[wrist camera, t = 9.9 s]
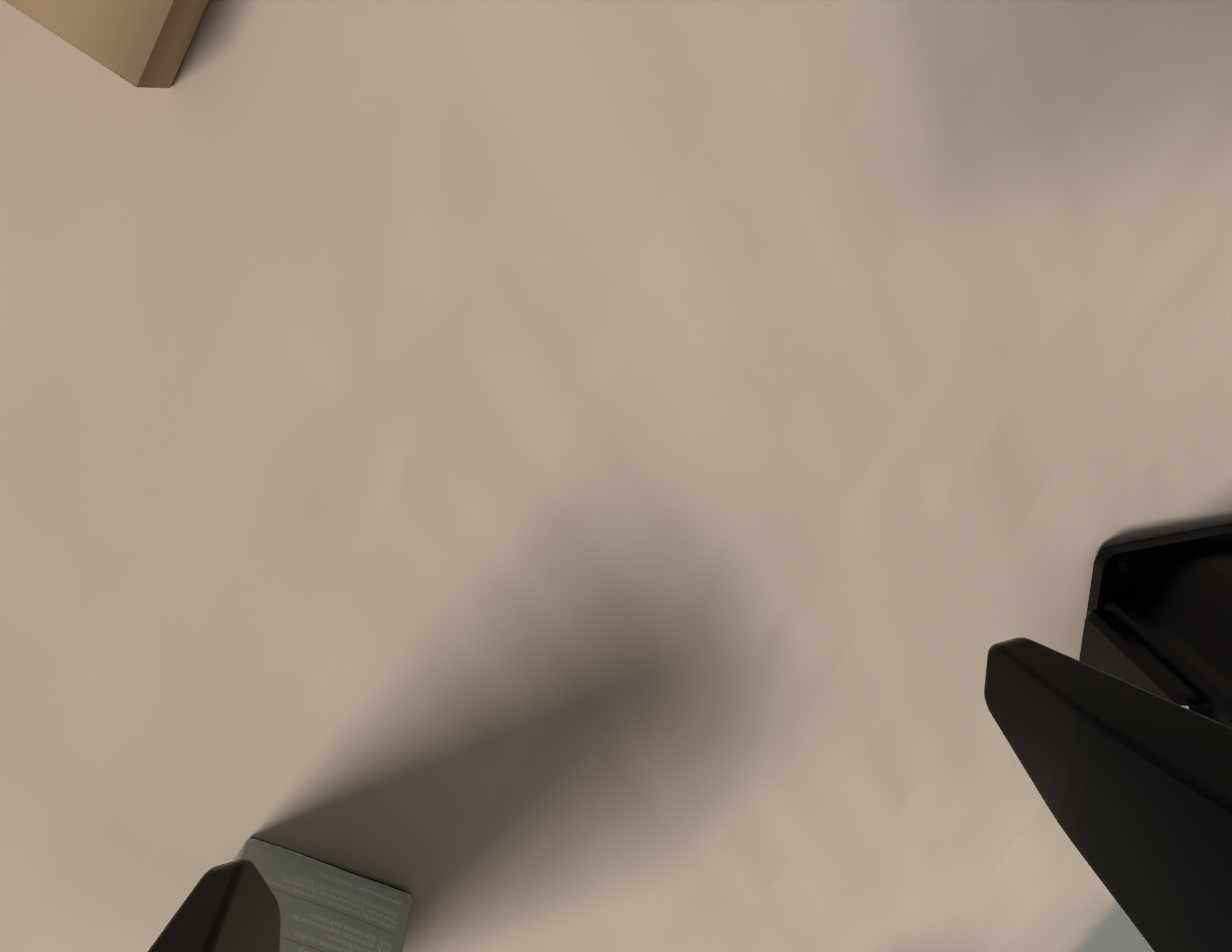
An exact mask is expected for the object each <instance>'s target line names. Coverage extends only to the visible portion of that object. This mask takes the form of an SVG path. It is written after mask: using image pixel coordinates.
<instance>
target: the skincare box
mask: <svg viewBox="0 0 1232 952" xmlns="http://www.w3.org/2000/svg"><path fill="white" fill-rule="evenodd" d="M240 859H248V860H250V861H252V862H253V863H254V865H255V866H256V868H257V869H258V871H259V872H260V874H261V875H262V877H263V879H264V880H265V882H266V883H267V885H268V886H269V888H270V889H271V891H272V893H273V894H274V896H275V897H276V899H277V902H278V905H279V909H280V916H281V932H280V952H402V950H403V945H404V940H405V935H406V930H407V925H408V919H409V914H410V908H411V905H412V901H411V898H410V895H409V894H408V893H405V892H402V891H399V890H396V889H393V888H391V887H388V886H386V885H383V884H380V883H377V882H374V881H371V880H368V879H365V878H363V877H360V876H357V875H354V874H351V873H349V872H346V871H343V870H341V869H338V868H335V867H333V866H330V865H327V864H325V863H322V862H320V861H317V860H314V859H311V858H309V857H306V856H303V855H301V854H298V853H295V852H293V851H290V850H287V849H284V848H281V847H278V846H275V845H272V844H269V843H266V842H263V841H260V840H257V839H250V840H248V841H247V842H246V843H245V845H244V846H243V848H242V849H241V851H240V852H239V854H238V855H237V857H236V858H235V860H234V861H236V860H240Z"/></svg>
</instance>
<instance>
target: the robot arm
mask: <svg viewBox="0 0 1232 952" xmlns="http://www.w3.org/2000/svg"><path fill="white" fill-rule="evenodd" d="M1115 561H1117V562H1116V563H1115V564H1113V563H1114V562H1115ZM1112 564H1113V565H1112ZM984 695H985V700H986V704H987V706H988V709H989V711H990V713H991V714H992V716H993V718H994V719H995V721H996V723H997V724H998V726H999V727H1000V729H1001V731H1002V732H1003V734H1004V736H1005V737H1006V739H1007V741H1008V742H1009V744H1010V746H1011V747H1012V749H1013V750H1014V752H1015V754H1016V755H1017V757H1018V759H1019V760H1020V762H1021V764H1022V765H1023V767H1024V768H1025V770H1026V772H1027V773H1028V775H1029V777H1030V778H1031V780H1032V782H1033V783H1034V785H1035V787H1036V788H1037V790H1038V791H1039V793H1040V795H1041V796H1042V798H1043V800H1044V801H1045V803H1046V805H1047V806H1048V808H1049V809H1050V811H1051V812H1052V814H1053V815H1054V817H1055V818H1056V820H1057V822H1058V823H1059V825H1060V826H1061V827H1062V829H1063V830H1064V832H1065V833H1066V834H1067V836H1068V837H1069V838H1070V840H1071V841H1072V843H1073V844H1074V845H1075V847H1076V848H1077V849H1078V851H1079V852H1080V853H1081V855H1082V856H1083V857H1084V859H1085V860H1086V861H1087V863H1088V864H1089V865H1090V867H1091V868H1092V869H1093V871H1094V872H1095V873H1096V875H1097V876H1098V877H1099V878H1100V880H1101V881H1102V882H1103V884H1104V885H1105V886H1106V888H1107V889H1108V890H1109V892H1110V893H1111V894H1112V896H1113V897H1114V898H1115V900H1116V901H1117V902H1118V904H1119V905H1120V906H1121V908H1122V909H1123V910H1124V912H1125V913H1126V914H1127V916H1128V917H1129V918H1130V920H1131V921H1132V922H1133V924H1134V925H1135V926H1136V928H1137V929H1138V930H1139V932H1140V933H1141V934H1142V935H1143V937H1144V938H1145V940H1146V941H1147V942H1148V944H1149V945H1150V946H1151V948H1152V949H1153V950H1154V951H1155V952H1232V524H1228V525H1222V526H1217V527H1211V528H1206V529H1200V530H1195V531H1189V532H1184V533H1178V534H1173V535H1167V536H1162V537H1156V538H1151V539H1145V540H1140V541H1134V542H1129V543H1123V544H1118V545H1112V546H1109V547H1107V548H1105V549H1103V550H1102V551H1100V553H1099V554H1098V555H1097V556H1096V558H1095V561H1094V567H1093V574H1092V581H1091V588H1090V595H1089V602H1088V609H1087V615H1086V619H1085V625H1084V632H1083V639H1082V646H1081V653H1080V660H1079V661H1078V660H1076V659H1073V658H1071V657H1069V656H1066V655H1064V654H1062V653H1060V652H1057V651H1055V650H1053V649H1051V648H1048V647H1046V646H1044V645H1042V644H1039V643H1037V642H1035V641H1032V640H1030V639H1027V638H1014V639H1011V640H1007V641H1004V642H1000V643H997V644H994V645H992V646H991V648H990V649H989V651H988V657H987V667H986V678H985V688H984ZM280 932H281V916H280V909H279V905H278V902H277V899H276V897H275V896H274V894H273V893H272V891H271V889H270V888H269V886H268V885H267V883H266V882H265V880H264V879H263V877H262V875H261V874H260V872H259V871H258V869H257V868H256V866H255V865H254V863H253V862H252V861H250V860H248V859H240V860H236V861H233V862H229V863H226V864H222V865H219V866H216V867H213V868H211V869H210V870H209V871H208V872H206V873H205V874H204V876H203V877H202V878H201V879H200V881H199V882H198V884H197V885H196V886H195V888H194V889H193V890H192V892H191V893H190V894H189V896H188V897H187V899H186V900H185V901H184V903H183V904H182V905H181V907H180V908H179V910H178V911H177V912H176V914H175V915H174V916H173V918H172V919H171V920H170V922H169V923H168V925H167V926H166V927H165V929H164V930H163V931H162V933H161V934H160V935H159V937H158V938H157V940H156V941H155V942H154V944H153V945H152V946H151V948H150V949H149V951H148V952H280Z"/></svg>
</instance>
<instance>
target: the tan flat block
mask: <svg viewBox="0 0 1232 952" xmlns="http://www.w3.org/2000/svg"><path fill="white" fill-rule="evenodd" d="M4 1H5V2H7V3H8V4H10V5H12V6H13V7H15V8H16V9H18V10H19V11H21V12H22V13H24V14H25V15H27V16H28V17H30V18H31V19H33V20H34V21H36V22H38V23H39V24H41V25H42V26H44V27H45V28H47V29H48V30H50V31H51V32H53V33H54V34H56V35H57V36H59V37H60V38H62V39H64V40H65V41H67V42H68V43H70V44H71V45H73V46H74V47H76V48H77V49H79V50H80V51H82V52H83V53H85V54H87V55H88V56H90V57H91V58H93V59H94V60H96V61H97V62H99V63H100V64H102V65H103V66H105V67H106V68H108V69H109V70H111V71H113V72H114V73H116V74H117V75H119V76H120V77H122V78H123V79H125V80H126V81H128V82H129V83H131V84H132V85H134V86H135V87H149V88H170V87H171V85H172V83H173V80H174V78H175V76H176V74H177V71H178V69H179V67H180V65H181V62H182V60H183V58H184V56H185V53H186V51H187V49H188V47H189V45H190V42H191V40H192V38H193V36H194V33H195V31H196V29H197V27H198V24H199V22H200V20H201V18H202V15H203V13H204V11H205V9H206V6H207V4H208V2H209V0H4Z"/></svg>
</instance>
